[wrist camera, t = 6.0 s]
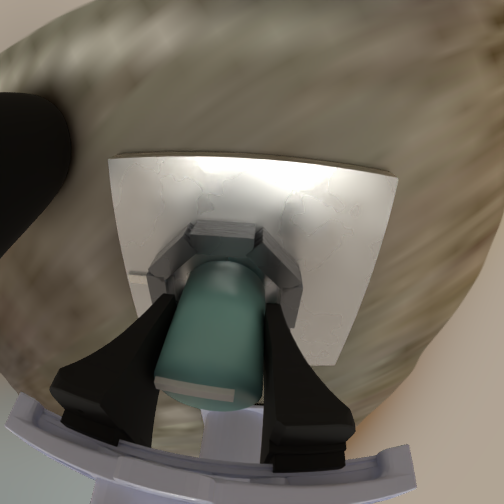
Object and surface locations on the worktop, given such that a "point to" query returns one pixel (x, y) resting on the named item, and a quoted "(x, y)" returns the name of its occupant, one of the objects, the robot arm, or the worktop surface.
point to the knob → (216, 340)
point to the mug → (29, 161)
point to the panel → (256, 231)
